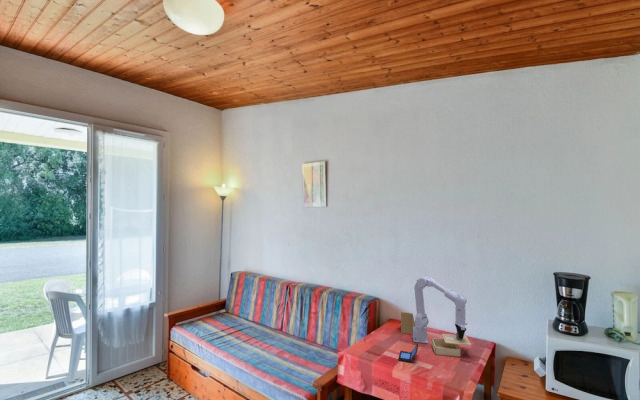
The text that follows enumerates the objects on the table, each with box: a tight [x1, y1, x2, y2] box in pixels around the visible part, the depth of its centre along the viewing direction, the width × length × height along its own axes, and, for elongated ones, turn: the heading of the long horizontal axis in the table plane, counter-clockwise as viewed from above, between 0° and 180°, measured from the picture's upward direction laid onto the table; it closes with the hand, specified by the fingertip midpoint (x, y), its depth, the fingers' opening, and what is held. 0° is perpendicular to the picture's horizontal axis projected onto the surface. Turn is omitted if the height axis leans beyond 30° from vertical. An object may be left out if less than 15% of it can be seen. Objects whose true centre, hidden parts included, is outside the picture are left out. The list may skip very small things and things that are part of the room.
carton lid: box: [441, 332, 473, 346], centre depth 201 cm, size 15×14×4 cm
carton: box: [431, 337, 462, 358], centre depth 202 cm, size 15×14×4 cm
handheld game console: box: [398, 343, 419, 364], centre depth 193 cm, size 12×11×7 cm
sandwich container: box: [400, 311, 416, 335], centre depth 237 cm, size 9×15×15 cm, turn 155°
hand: (460, 337), depth 201 cm, fingers closed on carton lid, 3 cm apart
